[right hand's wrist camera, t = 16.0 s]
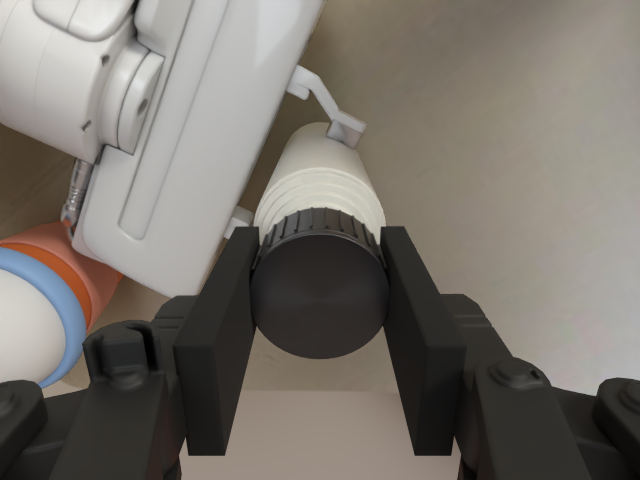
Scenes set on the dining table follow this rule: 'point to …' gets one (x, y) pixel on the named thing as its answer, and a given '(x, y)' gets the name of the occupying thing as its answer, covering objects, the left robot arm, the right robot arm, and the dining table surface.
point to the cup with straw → (47, 303)
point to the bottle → (319, 182)
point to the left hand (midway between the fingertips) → (334, 188)
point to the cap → (319, 284)
